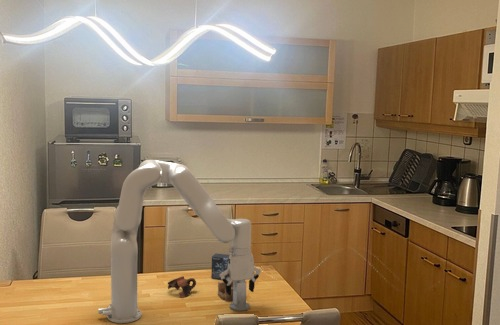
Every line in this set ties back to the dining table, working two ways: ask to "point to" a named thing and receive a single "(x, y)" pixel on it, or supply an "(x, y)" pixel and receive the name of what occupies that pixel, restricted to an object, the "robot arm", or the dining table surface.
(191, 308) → the dining table surface
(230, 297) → the cradle
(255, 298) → the dining table surface
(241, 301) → the pin
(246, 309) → the disc
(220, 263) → the box
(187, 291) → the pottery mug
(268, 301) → the dining table surface
